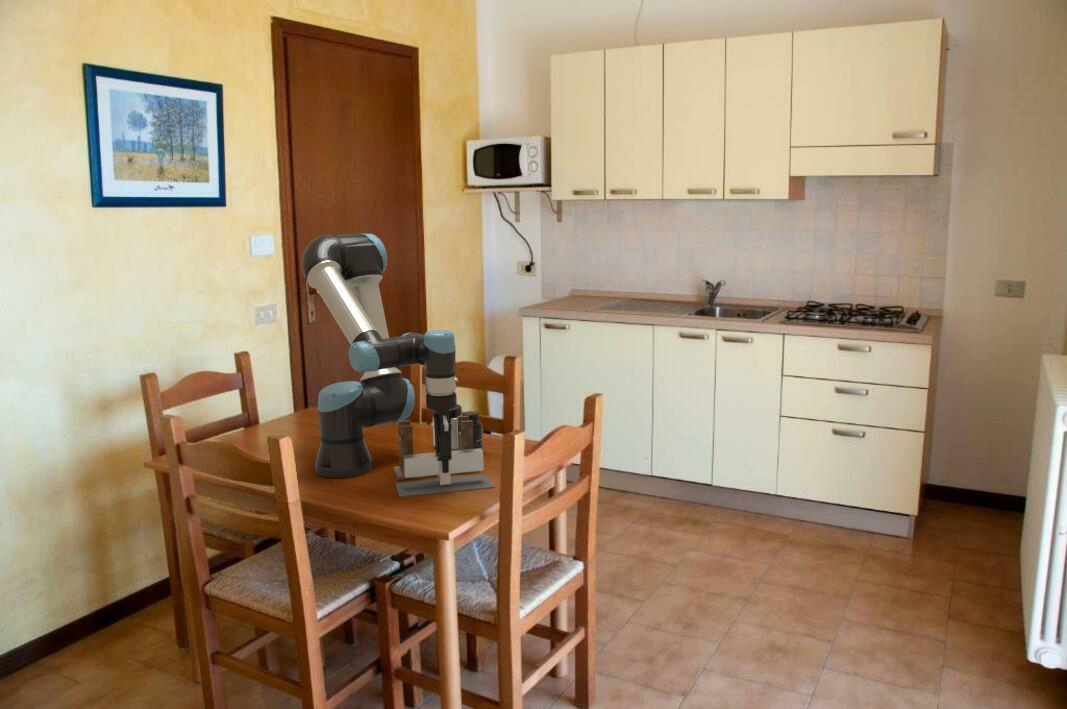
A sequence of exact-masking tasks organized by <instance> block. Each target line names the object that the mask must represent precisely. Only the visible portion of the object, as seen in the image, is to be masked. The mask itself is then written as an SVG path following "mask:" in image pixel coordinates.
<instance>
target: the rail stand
mask: <svg viewBox="0 0 1067 709" xmlns="http://www.w3.org/2000/svg"><path fill="white" fill-rule="evenodd" d="M397 425H398V426H397V428H398V450H399V451H398V453H399V455H398V456H399V466H394V467H393V470H394V474H395V476H396V480H398V481H401V480H412V479H422V478H423V479H424V478H430V477H431V478H433V477H437V475H431V476H420V477H410V478H405V475H404V461H403V455H412V454H414V436H413V425H412V424H411V421H410V419H407V420H406V419H404V420H401V421H397ZM457 425H458V449H457V450H468V449H473V421H472V420H469V416H457ZM480 472H481V471H472V472H462V473H451V475H452V476H453V475H454V476H455V475H463V474H464V475H466V474H472V473H480Z"/></svg>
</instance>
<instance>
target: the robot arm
mask: <svg viewBox="0 0 1067 709" xmlns="http://www.w3.org/2000/svg"><path fill="white" fill-rule="evenodd" d="M387 262H388V255H387V250H386V247H385V245H384V243H383V241H382V240H381V239H380V238H379V237H378V236H377V235H375V234H373V233H362V232H357V233H346V234H345V233H341V234H324V235H320V236H317V237H315V238H314V239H312V240H311V241H310V242H309V243H308V244H307V245H306V247H305V249H304V252H303V254H302V258H301V270H302V274H303V277H304V279H305V280H306V282H307V283H308V285H309V286H310V287H311V288H313V289H315V290H316V291H317V293H318V294H319V296H320V297H321V299H322V300H323V302H324V304H325V305H326V308H327V309H328V310H329V312H330V313H331V315H332V317H333V318H334V320H335V322H336V323H337V325H338V327H339V328H340V330H341V331H342V333H343V334H344V336H345V337H346V339H347V342H348V343H349V344H350V345H349V346H350V347H349V349H348V359H349V361H350V366H351V367H352V369H353V370H354V371H355V372H358V373H363V375H362V376H361V378H360V380H359V381H356V380H355V381H354V380H348V381H339V382H336V383H332V384H329V385H327V386H325V387H323V388H322V389H321V390H319V392H318V396H317V397H318V399H317V410H318V411H317V412H318V424H319V436H320V437H319V438H320V444H319V448H318V452H317V455H316V459H315V462H314V467H315V473H316V474H317V475H319V476H321V477H324V478H334V479H335V478H336V479H341V478H342V479H343V478H350V477H357V476H361V475H363V474H366V473H368V472H370V471H371V470H372V469H373V459H372V456H371V453H370V451H369V449H368V446H367V445H368V444H366V439H365V429H368V428H372V427H373V428H374V427H378V426H382V425H387V424H395V423H398V421H404V420H406V419H407V418H409V417H410V416H411V415H412V412H413V410H414V407H415V402H416V395H415V394H416V393H415V390H414V386H413V384H412V383H411V381H410V380H409V379H408V378H404V377H403V374H402V370H401V369H398V368H399V367H401V368H402V367H405V366H407V367H408V366H412V365H420V366H424V368H425V376H424V377H425V391H426V393H427V394H426V396H425V398H426V408H427V409H428V410H432V411H433V412H432V420H433V419H434V430H435V447H434V450H435V452H440V458H437V461H439V474H440V475H437V476H436V477H437V478H436V479H438V480H440V485H445V484H451V478H452V476H451V472H450V460H451V459H452V456H451V451H452V450H451V426H452V424H451V415H449V413H448V410H450V409H453V408H455V407H456V406H457V392H456V390H457V383H458V381H459V378H457V376H456V374H457V373H456V371H457V370H456V361H457V360H456V342H455V334H454V332H452V331H451V330H445V329H434V330H428V331H426V332H425V333H424V334H421V333H418V332H407V333H403V334H401V336H396V337H390V336H389V331H388V326H387V325H388V324H387V321H386V317H385V316H386V315H385V311H384V305H383V299H382V295H381V289H380V282H381V280H383V278H384V277H383V273H384V272H385V271H386V270H387V267H388V264H387ZM434 410H435V412H434Z"/></svg>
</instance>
